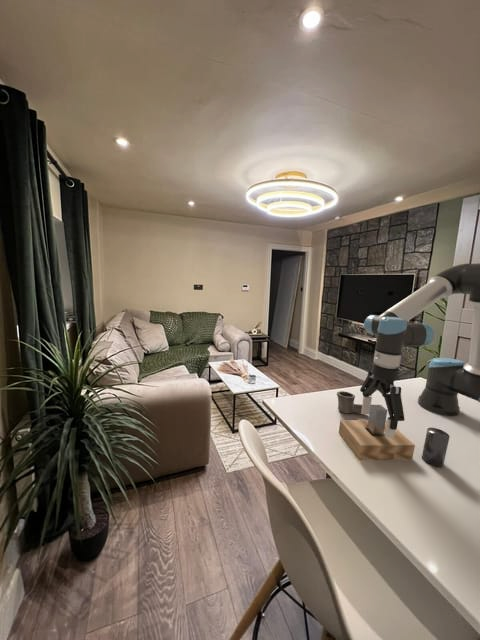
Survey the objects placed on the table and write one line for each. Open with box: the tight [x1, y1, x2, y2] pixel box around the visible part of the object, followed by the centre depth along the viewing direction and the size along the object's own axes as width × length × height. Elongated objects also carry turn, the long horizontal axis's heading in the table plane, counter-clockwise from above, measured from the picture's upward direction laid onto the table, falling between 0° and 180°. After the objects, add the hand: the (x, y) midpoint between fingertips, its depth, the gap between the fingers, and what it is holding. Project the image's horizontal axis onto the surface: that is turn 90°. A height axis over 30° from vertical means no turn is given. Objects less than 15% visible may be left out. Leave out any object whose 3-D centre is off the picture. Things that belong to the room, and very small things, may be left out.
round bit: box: [421, 427, 451, 469], centre depth 82 cm, size 6×6×10 cm
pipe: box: [336, 390, 363, 415], centre depth 110 cm, size 6×13×8 cm, turn 78°
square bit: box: [367, 404, 388, 436], centre depth 88 cm, size 4×4×14 cm
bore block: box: [338, 419, 416, 461], centre depth 89 cm, size 18×14×5 cm
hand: (376, 424), depth 88 cm, fingers open, 13 cm apart
